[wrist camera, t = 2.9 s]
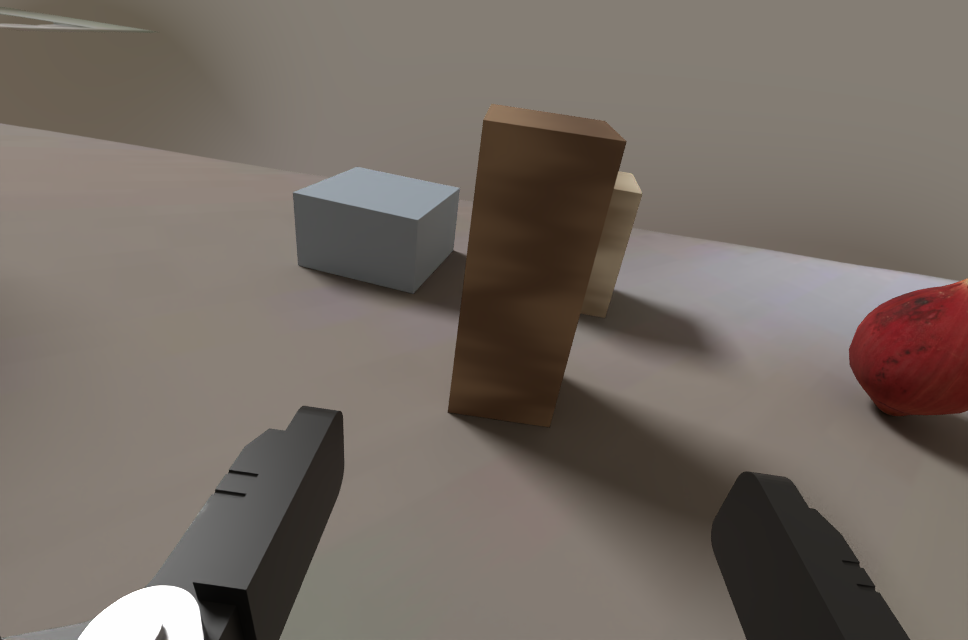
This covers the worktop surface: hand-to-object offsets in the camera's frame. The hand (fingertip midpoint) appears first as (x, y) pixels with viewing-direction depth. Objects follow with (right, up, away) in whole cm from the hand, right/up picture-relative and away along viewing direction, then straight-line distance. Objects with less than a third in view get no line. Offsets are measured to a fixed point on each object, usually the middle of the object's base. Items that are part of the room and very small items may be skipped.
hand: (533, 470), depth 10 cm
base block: (-8, +7, +24) cm, 27 cm away
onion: (+20, -2, +16) cm, 26 cm away
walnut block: (0, 0, +13) cm, 13 cm away
